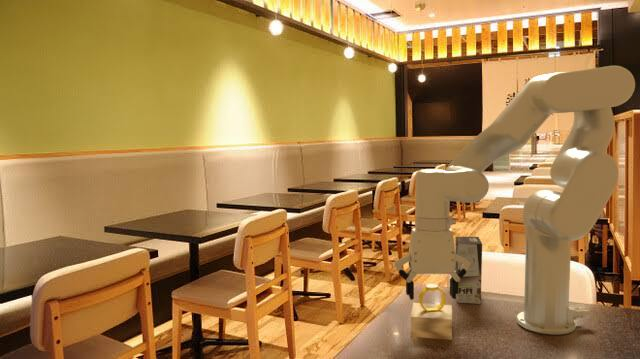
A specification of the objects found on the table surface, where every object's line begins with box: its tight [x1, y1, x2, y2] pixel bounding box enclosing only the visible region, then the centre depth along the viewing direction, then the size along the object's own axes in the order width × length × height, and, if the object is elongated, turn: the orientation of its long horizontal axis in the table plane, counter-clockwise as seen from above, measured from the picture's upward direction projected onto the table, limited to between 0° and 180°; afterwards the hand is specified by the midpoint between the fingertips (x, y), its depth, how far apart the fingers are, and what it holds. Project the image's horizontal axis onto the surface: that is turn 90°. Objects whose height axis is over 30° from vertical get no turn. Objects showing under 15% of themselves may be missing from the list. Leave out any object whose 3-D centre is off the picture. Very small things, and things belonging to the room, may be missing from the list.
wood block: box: [410, 302, 453, 341], centre depth 120 cm, size 9×9×5 cm
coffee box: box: [454, 236, 483, 305], centre depth 140 cm, size 9×6×16 cm
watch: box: [418, 283, 447, 312], centre depth 119 cm, size 6×3×6 cm, turn 99°
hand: (431, 297), depth 119 cm, fingers open, 9 cm apart
